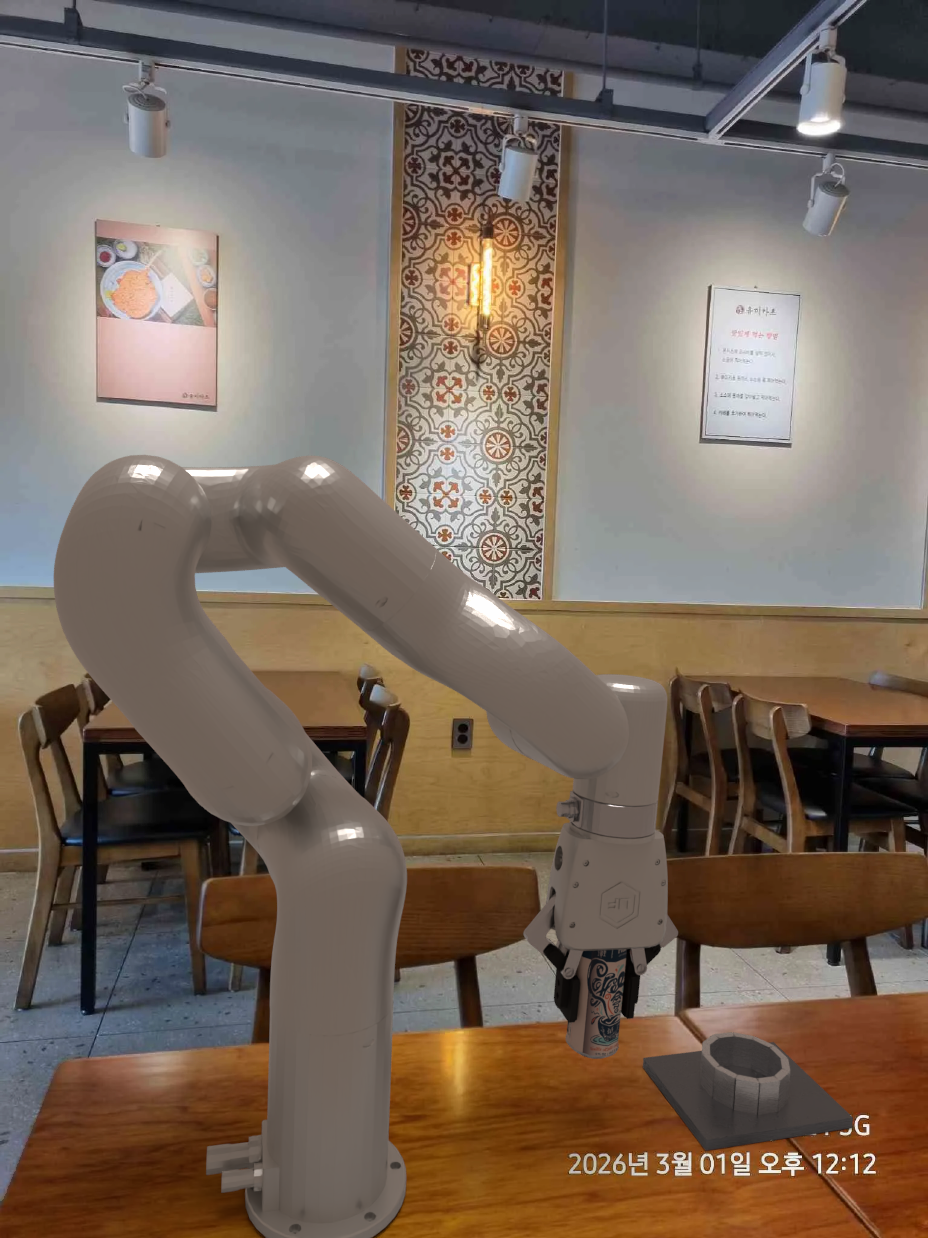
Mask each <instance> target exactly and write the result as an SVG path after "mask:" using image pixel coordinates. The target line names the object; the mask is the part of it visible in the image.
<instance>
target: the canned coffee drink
mask: <svg viewBox="0 0 928 1238" xmlns="http://www.w3.org/2000/svg"><path fill="white" fill-rule="evenodd" d="M626 954H627V949H619V950H595V951H583V953H582V956H581V958H580V961H579V964H578V967H577V970H576V975H577V976H578V978H579V979H580V993H579V1003H578V1014H577V1020H575V1022H571V1023H569V1022H568V1021H567V1025H566V1034H565V1042H566V1044H567V1046H568V1047H570V1048H571V1049H572V1050H573V1052H576V1053H577V1054H579V1055H580V1056H582V1057H584V1058H588V1059H596V1060H597V1059H605V1058H608V1057H612V1056H614V1055H615V1054H616V1053H617V1052H618V1050H619V1039H620V1038H619V1035H620V1027H621V1024H620V1023H621V1016H622V1013H621V1006H622V996H623V985H624V975H625V964H626Z"/></svg>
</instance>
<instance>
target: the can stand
mask: <svg viewBox="0 0 928 1238" xmlns="http://www.w3.org/2000/svg"><path fill="white" fill-rule="evenodd" d="M701 1045H702V1046H701V1050H697V1051H689V1052H681V1053H672V1054H664V1055H656V1056H647V1057H643V1058H642V1059H643V1060H642V1069H643V1070H644V1071H645V1073H647V1075H648V1077H650V1079H651V1080H652V1082H653V1083H654V1084H655V1085H656V1088H658V1089H659V1092H661V1093H662V1095H663V1096H664V1097H665V1099H666V1100H667V1102H669V1104H670V1106H671V1107H672V1108H673V1110H674V1111H675V1112H676V1113H677V1115H678V1116H679V1117H680V1119H681V1120H682V1121H683V1122H684V1124H685V1126H686V1127H687V1128H688V1129H689V1131H690V1132H691V1133H692V1134H693V1136H694V1138H695V1139H696V1140H697V1141H698V1143H699V1145H701V1147H702V1149H704V1151H706V1152H707V1151H713V1150H719V1149H724V1148H725V1149H726V1148H733V1147H738V1146H745V1145H750V1144H757V1143H758V1144H759V1143H764V1142H769V1141H770V1142H771V1141H776V1140H783V1139H788V1138H789V1139H790V1138H797V1137H801V1136H802V1137H803V1136H809V1135H816V1134H822V1133H827V1132H829V1133H830V1132H834V1131H841V1130H847V1129H852V1128H853V1123H854V1122H853V1121H854V1117H853V1116H852V1114H850V1113H849V1112H848V1111H847V1110H846V1109H845V1108H844V1107H843V1106H842V1105H840V1103H839V1102H838V1101H836V1100H835V1099H834V1098H833V1097H832V1096H831V1095H830V1094H829V1093H828V1092H827V1091H826V1090H824V1089H825V1088H823V1087H822V1086H820V1085H819V1083H817V1082H816V1081H815V1080H814V1079H813V1078H812V1077H811V1076H810V1075H809V1074H808V1073H807V1072H806V1070H804V1069H803V1068H801V1067H800V1065H798V1063H796V1061H794V1059H792V1058H791V1056H789V1055H788V1054H787V1053H786V1052H785V1051H783V1050H782V1048H781V1047H779V1045H778V1044H777V1043H775V1042H774V1041H771V1042H768V1041H766V1040H763V1039H761V1038H759V1037H757V1036H754V1035H751V1034H745V1033H739V1032H734V1031H733V1032H732V1031H731V1032H721V1033H715V1034H712V1035H710V1036H709V1037H707V1038H706V1039H705V1040H704V1041H702V1044H701Z"/></svg>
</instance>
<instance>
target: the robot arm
mask: <svg viewBox="0 0 928 1238" xmlns="http://www.w3.org/2000/svg"><path fill="white" fill-rule="evenodd" d="M68 513H69V514H68V516H67V518H66V520H65V523H64V526H63V528H62V532H61V535H60V537H59V542H58V545H57V549H56V554H55V558H54V564H53V565H54V566H53V593H54V602H55V607H56V612H57V616H58V620H59V623H60V626H61V629H62V631H63V634H64V636H65V638H66V640H67V643H68V645H69V647H70V649H71V650H72V652H73V653H74V655H75V657H76V659H77V660H78V661H79V663H80V664H81V666H82V667H83V669H85V671H86V672H87V673H88V675H89V676H90V677H91V678H92V680H93V681H94V682H95V683H96V685H97V686H98V687H99V688H100V689H101V690H102V691H103V692H104V694H105V695H106V696H107V697H108V698H109V699H110V700H111V702H112V703H113V704H114V706H116V708H118V710H119V711H120V712H121V713H122V714H123V716H124V717H125V718H126V719H127V720H128V722H129V723H130V724H131V726H132V727H133V728H134V729H135V731H136V732H137V733H138V734H139V735H140V736H141V737H142V738H143V739H144V741H145V742H146V743H147V744H148V745H149V746H150V747H151V748H152V749H153V750H154V752H155V753H156V755H158V756H159V757H160V759H162V760H163V762H164V763H165V764H166V765H167V766H168V767H169V768H170V770H171V771H172V772H173V773H174V774H175V775H176V776H177V778H178V779H179V781H180V782H181V783H182V784H183V785H184V787H185V789H186V790H187V791H188V793H189V795H190V796H191V797H192V798H193V799H194V800H195V801H196V803H197V804H198V805H199V806H201V807H202V808H203V809H204V810H206V811H207V812H208V813H210V814H211V815H213V816H215V817H217V818H218V819H220V820H223V821H225V822H228V823H230V824H231V825H232V826H233V827H234V828H235V829H236V830H237V832H239V834H240V835H241V836H243V837H244V839H245V840H246V841H247V842H248V843H249V844H250V845H251V847H253V849H254V850H255V851H256V852H257V853H258V854H259V856H260V857H261V859H262V860H263V862H264V864H265V866H266V868H267V870H268V874H269V876H270V878H271V880H272V882H273V885H274V887H275V892H276V903H277V904H276V905H277V906H276V907H277V911H276V925H275V933H274V937H273V945H272V953H271V964H270V966H271V967H270V979H269V980H270V982H269V1034H268V1035H269V1037H268V1038H269V1040H268V1042H269V1043H268V1044H269V1045H268V1073H267V1074H268V1078H267V1080H268V1081H267V1083H268V1086H267V1117H266V1119H263V1120H262V1121H261V1134H258V1135H252V1136H248V1142H240V1143H223V1144H216V1145H209V1146H206V1164H205V1166H206V1170H205V1175H206V1176H210V1175H211V1176H212V1175H217V1174H221V1187H220V1188H221V1192H220V1193H222V1194H223V1193H231V1192H235V1191H236V1192H237V1191H239V1190H243V1189H245V1192H244V1198H245V1199H244V1201H245V1209H246V1212H247V1214H248V1215H247V1216H248V1217H249V1218H248V1219H249V1220H250V1221H251V1223H252V1224H253V1226H254V1227H255V1228H256V1230H257V1231H259V1233H261V1235H262V1236H264V1237H265V1238H373V1237H374V1236H376V1235H377V1234H378V1233H380V1232H381V1231H382V1230H384V1229H385V1228H386V1227H387V1226H389V1224H390V1223H391V1222H392V1220H394V1219H395V1218H396V1216H397V1215H398V1212H399V1211H400V1209H401V1207H402V1205H403V1203H404V1199H405V1198H406V1191H407V1167H406V1164H405V1161H404V1158H403V1156H402V1155H401V1153H400V1151H399V1150H398V1148H397V1147H396V1146H395V1145H394V1144H393V1142H391V1141H390V1139H389V1135H390V1134H389V1130H390V1108H391V1107H390V1105H391V1080H392V1078H391V1077H392V1056H393V1055H392V1051H393V1028H394V1027H393V1024H394V992H395V991H394V990H395V989H394V988H395V987H394V985H395V971H396V969H395V967H396V965H395V964H396V956H397V955H396V953H397V946H398V943H397V942H398V936H399V931H400V925H401V920H402V916H403V910H404V905H405V900H406V893H407V887H408V886H407V884H408V871H407V870H408V869H407V862H406V857H405V852H404V850H403V847H402V844H401V842H400V839H399V838H398V835H397V833H396V832H395V830H394V829H393V827H392V826H391V824H390V823H389V822H388V820H386V818H385V817H384V816H383V815H382V814H381V813H380V812H379V811H378V810H377V809H376V808H375V807H374V806H373V804H371V803H370V802H369V801H368V800H367V799H366V798H365V797H363V796H362V795H361V794H360V793H359V792H358V791H356V789H355V788H354V787H353V786H352V785H351V784H350V783H349V782H348V781H347V780H346V779H345V777H344V776H343V775H342V774H341V773H340V772H339V771H338V770H337V769H336V767H335V766H334V765H333V764H332V763H331V761H330V760H329V759H328V758H327V757H326V756H325V754H324V753H323V752H322V751H321V749H320V748H319V746H317V745H316V744H315V742H314V741H313V740H312V739H311V738H310V736H309V735H308V734H307V733H306V731H305V729H304V727H303V726H302V724H301V722H300V720H299V718H298V717H297V716H296V714H295V713H294V712H293V710H292V709H291V708H290V707H289V706H288V705H287V704H286V703H285V702H284V701H283V700H281V698H279V697H278V696H277V695H276V694H275V693H274V692H273V691H272V690H270V689H269V688H268V687H266V686H265V684H263V683H262V682H261V680H260V679H259V678H258V677H257V675H256V674H254V672H253V671H252V670H251V669H250V668H249V666H248V665H247V664H246V663H245V661H244V660H243V659H242V658H241V657H240V656H239V655H238V653H236V651H235V650H234V648H233V647H232V646H231V644H230V643H229V641H228V640H227V639H226V638H227V637H225V636H224V634H223V633H222V632H221V631H220V630H219V629H218V627H217V626H216V625H215V624H214V623H213V621H212V620H211V619H210V617H209V616H208V614H207V613H206V611H205V610H204V608H203V605H202V604H201V602H200V600H199V596H198V592H197V588H196V574H210V573H226V572H239V571H240V572H243V571H255V570H265V569H267V570H268V569H269V570H270V569H277V568H278V569H279V568H280V569H281V568H286V569H287V570H289V571H290V573H292V574H293V575H294V576H296V577H297V578H298V579H300V580H301V582H303V583H304V584H306V585H307V586H308V587H309V588H310V589H311V590H313V591H314V592H316V594H318V595H319V596H320V597H321V598H323V599H324V600H326V602H327V603H329V604H330V605H331V606H332V607H334V609H337V611H339V612H340V613H341V614H342V615H344V616H345V617H346V618H347V619H349V620H350V621H351V622H352V623H353V624H355V626H357V627H358V628H359V629H361V630H362V631H363V632H365V634H367V635H368V636H369V637H370V638H371V639H373V640H374V642H376V643H377V644H379V645H380V647H382V648H383V649H384V650H385V651H387V652H388V653H390V654H391V655H392V656H394V657H395V658H396V659H398V660H400V661H401V662H403V663H404V664H405V665H407V666H408V667H410V668H411V669H413V670H414V671H416V672H418V673H420V674H421V675H424V676H425V677H427V678H429V679H431V680H433V681H435V682H438V683H439V684H441V685H443V686H445V687H448V688H449V689H451V690H453V691H454V692H456V693H458V694H459V695H462V696H463V697H465V698H466V699H468V700H469V701H471V702H472V703H474V704H475V705H477V706H478V707H480V709H482V710H484V711H485V713H486V719H487V722H488V725H489V728H490V729H491V731H492V732H493V734H494V735H495V737H496V738H497V739H498V740H499V741H500V742H501V743H503V744H504V745H505V746H506V747H508V748H509V749H510V750H513V751H515V752H517V753H519V754H520V755H523V756H524V757H526V758H528V759H530V760H533V761H535V762H537V763H538V764H541V765H542V766H544V767H546V768H549V769H550V770H552V771H554V772H556V773H558V774H560V775H562V776H564V777H566V778H570V779H573V780H572V781H573V783H572V790H570V792H569V797H568V799H566V800H564V801H557V803H556V809H555V811H556V814H557V817H559V818H562V817H564V818H565V819H567V820H568V821H569V822H565V823H563V825H562V827H561V830H560V833H559V836H558V839H557V843H556V846H555V849H554V854H553V859H552V864H551V867H550V873H549V879H548V884H547V885H548V886H547V891H546V893H547V894H546V898H545V899H546V900H545V904H544V906H543V907H542V908H541V910H540V911H539V912H538V913H537V914H536V915H535V916H534V918H533V919H532V921H530V923H529V924H528V925H527V926H526V927H525V929H524V930H523V933H522V934H523V936H524V938H525V939H526V941H527V943H528V944H529V945H531V946H532V947H533V948H534V949H535V950H537V952H539V953H540V954H542V955H544V956H545V957H546V959H547V960H548V961H549V962H550V963H551V965H553V966H554V968H555V979H554V992H553V1002H554V1004H555V1006H556V1008H557V1009H558V1010H560V1012H561V1014H562V1015H563V1016H564V1018H565V1019H566V1021H567V1023H568V1022H569V1023H571V1022H575V1020H577V1014H578V1003H579V993H580V979H579V978H578V976H577V975H576V970H577V967H578V964H579V961H580V958H581V956H582V953H583V951H595V950H619V949H627V954H626V964H625V975H624V985H623V996H622V1006H621V1015H622V1016H623V1017H624V1018H626V1019H627V1020H628V1019H629V1020H630V1019H634V1017H635V1007H636V1004H638V1002H639V996H640V995H639V993H640V984H641V983H640V982H641V976H643V975H645V974H646V972H648V971H647V970H648V965H649V964H650V963H651V962H652V961H653V960H654V959H655V958H656V957H657V956H658V955H659V954H660V952H661V951H662V949H663V948H665V947H666V946H668V945H669V944H670V943H671V942H672V941H674V940H675V939H676V938H677V937H678V935H679V930H678V929H677V927H676V926H675V924H674V923H673V921H672V920H671V918H670V916H669V915H668V897H669V895H668V893H669V892H668V889H669V888H668V886H669V885H668V882H669V881H668V880H669V879H668V878H669V877H668V863H667V853H666V851H667V850H666V843H665V838H664V836H665V835H664V834H663V833H662V832H660V831H659V830H657V829H656V824H657V815H658V805H659V793H660V783H661V773H662V763H663V752H664V743H665V734H666V733H665V732H666V723H667V712H668V694H667V691H666V689H665V687H664V686H663V685H662V684H661V683H660V682H657V681H655V680H654V679H650V678H647V677H646V678H645V677H641V676H635V675H629V674H613V673H612V674H611V673H607V674H605V673H603V674H595V673H594V672H593V671H592V670H591V669H590V668H589V667H588V666H587V665H586V664H584V662H583V661H581V660H580V659H579V658H578V657H577V656H576V655H575V654H573V653H572V652H571V651H570V650H569V649H568V648H566V646H564V645H563V644H562V643H561V642H560V641H558V640H557V639H556V638H555V637H553V636H551V635H550V634H549V633H548V632H546V631H545V630H544V629H542V628H541V627H539V626H538V625H537V624H536V623H534V622H532V621H531V620H530V619H528V618H527V617H526V616H524V615H523V614H521V613H520V612H518V611H517V610H516V609H514V608H513V607H511V605H508V604H507V603H506V602H505V601H503V600H502V599H500V598H499V596H497V595H496V594H494V593H493V592H492V591H490V590H489V589H487V588H486V587H485V586H483V585H482V584H480V583H479V582H477V581H476V580H474V579H472V578H471V577H470V576H469V575H467V574H466V573H464V572H463V570H461V569H460V568H459V567H458V566H457V565H455V564H454V563H453V562H452V561H451V560H450V559H449V558H447V557H446V555H444V554H443V553H442V552H441V551H439V550H438V549H437V547H435V546H434V545H433V544H432V543H431V542H429V541H428V540H427V539H426V538H425V537H424V536H423V534H421V533H419V531H417V530H416V529H415V528H414V527H413V526H412V525H411V524H410V523H408V521H406V519H404V518H403V517H402V516H401V515H400V514H399V513H398V512H397V511H396V510H394V508H392V507H391V506H390V505H389V504H388V502H386V501H385V500H383V499H382V498H381V497H380V496H379V495H378V494H377V493H376V492H375V491H374V490H373V489H371V488H370V486H368V485H367V484H366V483H365V482H363V480H361V479H360V478H359V477H358V476H357V475H355V474H354V473H353V472H352V471H350V470H349V469H348V468H347V467H345V466H344V465H342V464H340V463H339V462H337V461H335V460H333V459H330V458H328V457H326V456H322V455H321V456H320V455H301V456H295V457H293V458H289V459H286V460H283V461H281V462H278V463H276V464H266V465H255V466H254V465H253V466H251V465H250V466H229V467H228V466H225V467H222V466H219V467H217V466H216V467H207V466H206V467H203V466H202V467H195V466H194V467H192V466H191V467H187V466H186V467H185V466H181V465H179V464H177V463H175V462H173V461H171V460H169V459H167V458H164V457H162V456H161V457H160V456H156V455H148V454H133V455H126V456H123V457H119V458H116V459H114V460H111V461H109V462H108V463H106V464H104V465H103V466H102V467H100V468H99V469H97V470H96V471H95V472H94V473H93V474H92V475H91V476H90V477H89V478H88V480H86V482H85V484H84V485H83V487H82V488H81V490H80V491H79V493H78V495H77V497H76V498H75V501H74V502H73V505H72V506H71V509H70V510H69V512H68ZM550 930H553V931H555V936H556V938H557V942H556V944H555V943H554V942H553V941H552V940H551V939H550V938H548V937H547V935H548V933H549V932H550Z"/></svg>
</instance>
